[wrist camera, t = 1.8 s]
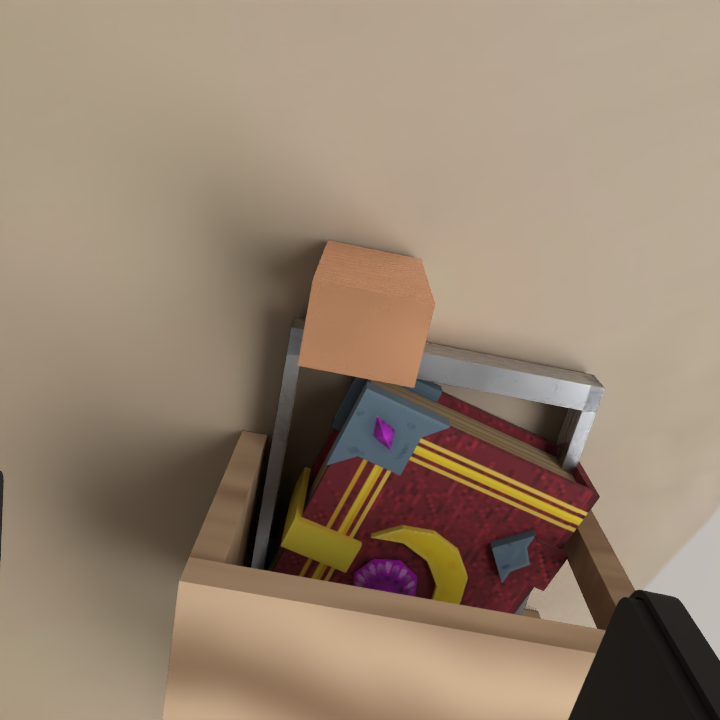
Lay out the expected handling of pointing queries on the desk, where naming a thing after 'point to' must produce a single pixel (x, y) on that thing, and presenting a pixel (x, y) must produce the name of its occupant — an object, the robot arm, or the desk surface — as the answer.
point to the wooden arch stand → (365, 635)
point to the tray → (403, 356)
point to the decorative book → (431, 502)
